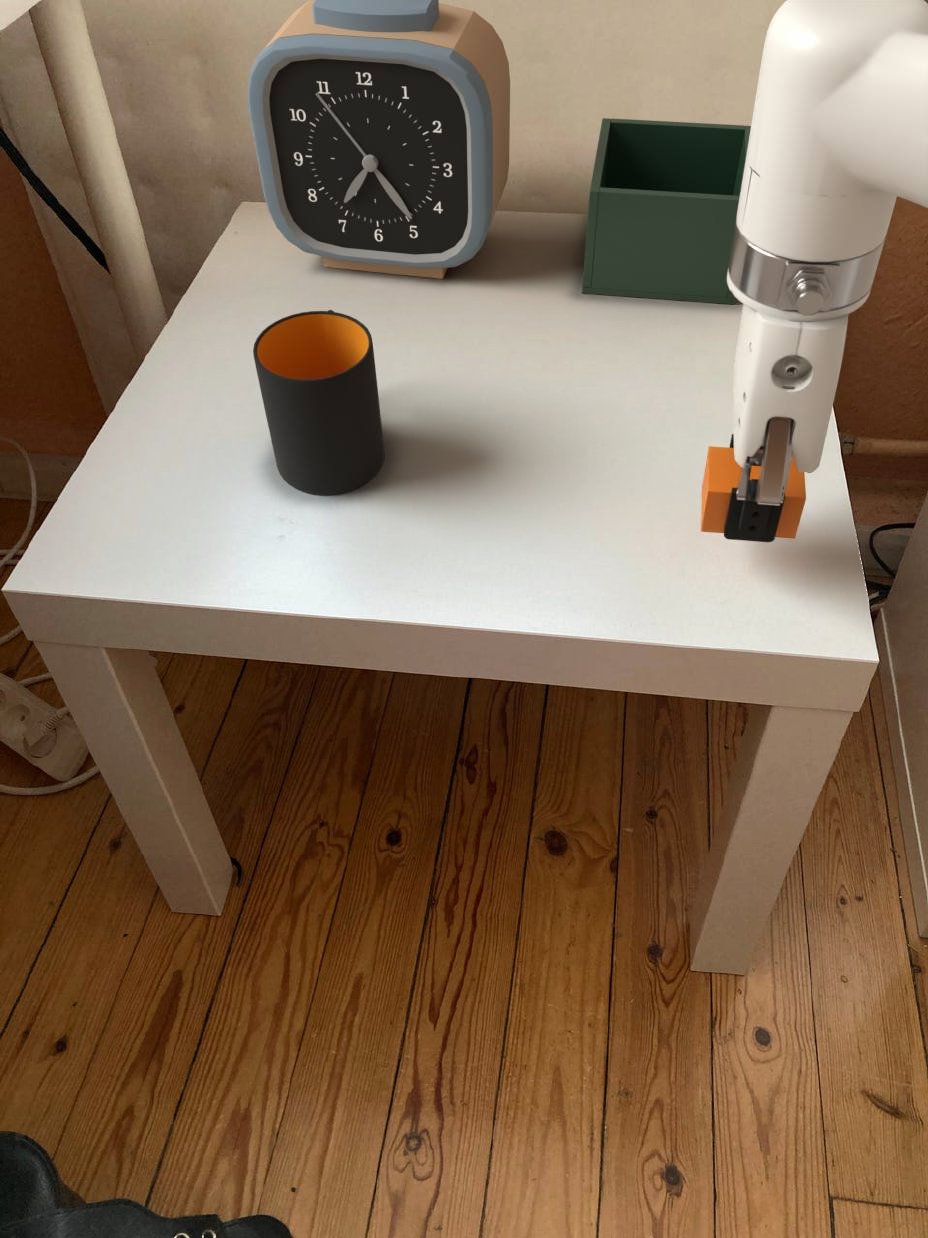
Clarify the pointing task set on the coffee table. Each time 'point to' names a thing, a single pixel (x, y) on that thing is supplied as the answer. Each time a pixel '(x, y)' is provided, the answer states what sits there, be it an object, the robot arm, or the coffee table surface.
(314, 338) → the mug
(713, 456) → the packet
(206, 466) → the coffee table surface
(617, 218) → the bin
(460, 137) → the alarm clock
